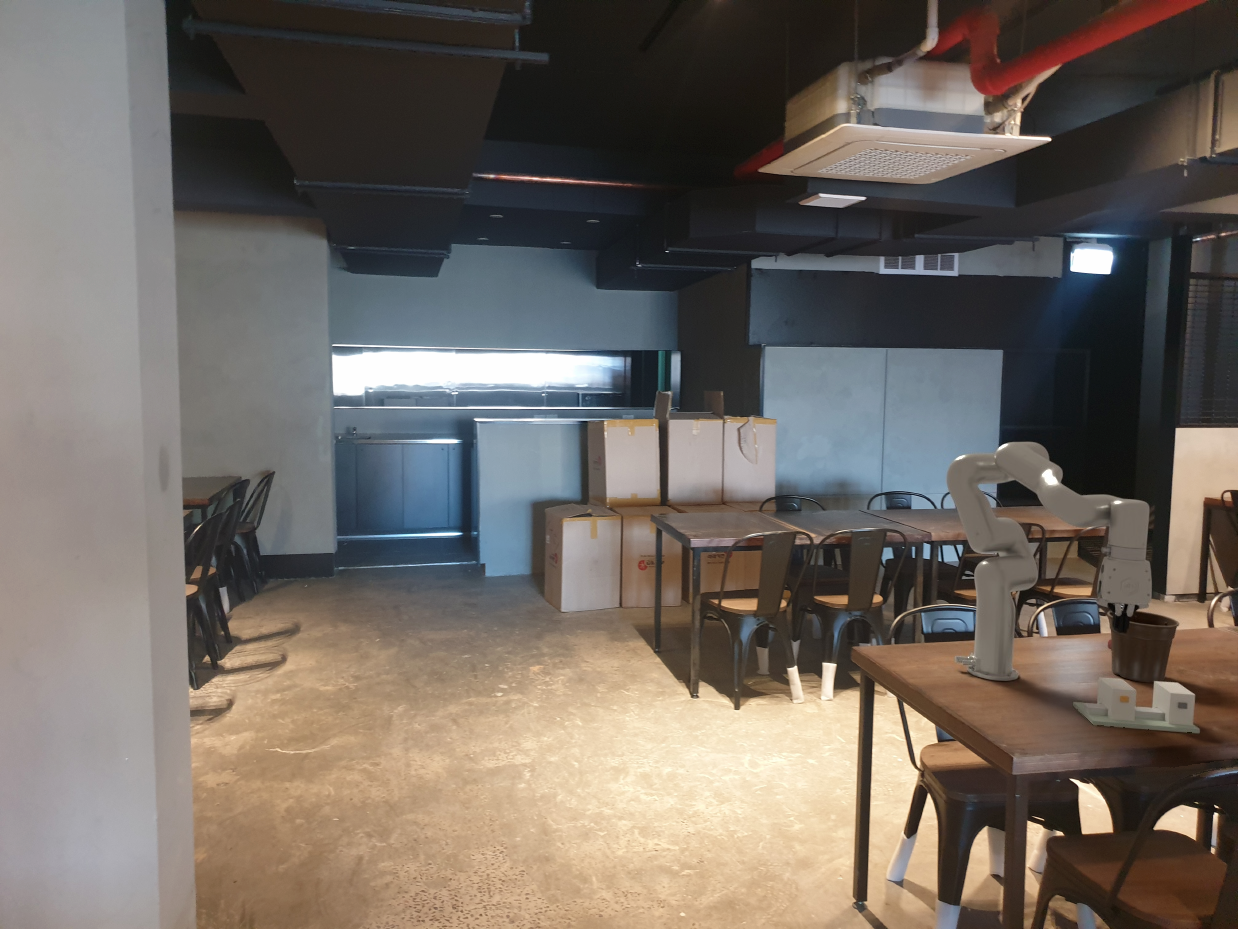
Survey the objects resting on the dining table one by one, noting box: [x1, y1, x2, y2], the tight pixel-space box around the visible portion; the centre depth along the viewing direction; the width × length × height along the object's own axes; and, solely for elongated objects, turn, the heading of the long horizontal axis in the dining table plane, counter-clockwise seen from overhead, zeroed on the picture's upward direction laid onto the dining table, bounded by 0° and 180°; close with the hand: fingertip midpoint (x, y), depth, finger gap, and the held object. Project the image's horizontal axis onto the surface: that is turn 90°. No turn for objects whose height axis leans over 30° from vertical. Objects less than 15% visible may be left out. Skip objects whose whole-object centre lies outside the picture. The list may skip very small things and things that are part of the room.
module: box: [1096, 676, 1137, 721], centre depth 192 cm, size 5×9×7 cm, turn 170°
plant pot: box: [1107, 609, 1180, 684], centre depth 222 cm, size 16×16×16 cm
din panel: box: [1073, 681, 1201, 734], centre depth 192 cm, size 22×12×8 cm, turn 80°
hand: (1120, 631), depth 191 cm, fingers closed
